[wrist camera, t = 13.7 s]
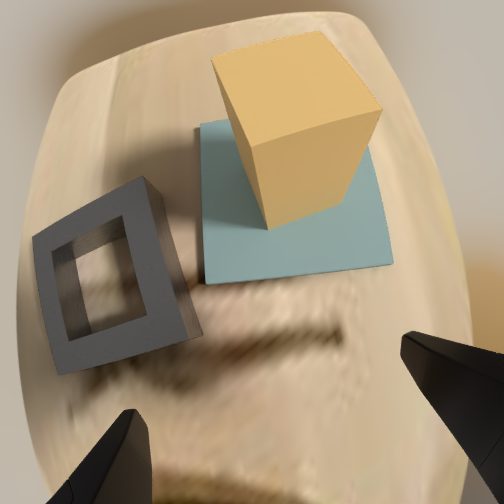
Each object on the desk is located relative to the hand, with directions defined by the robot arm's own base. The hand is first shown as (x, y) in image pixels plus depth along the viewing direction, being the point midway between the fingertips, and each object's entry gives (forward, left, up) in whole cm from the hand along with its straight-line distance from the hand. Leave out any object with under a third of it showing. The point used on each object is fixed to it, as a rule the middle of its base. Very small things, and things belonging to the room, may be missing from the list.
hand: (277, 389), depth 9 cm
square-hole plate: (+11, -5, -10) cm, 16 cm away
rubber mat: (-2, -11, -10) cm, 14 cm away
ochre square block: (-2, -11, -9) cm, 14 cm away
